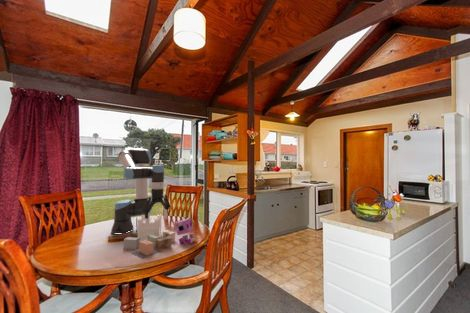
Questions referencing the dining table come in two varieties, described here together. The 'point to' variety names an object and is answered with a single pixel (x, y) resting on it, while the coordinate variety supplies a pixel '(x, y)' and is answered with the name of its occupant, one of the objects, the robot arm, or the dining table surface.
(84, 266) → the dining table surface
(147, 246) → the terracotta brick
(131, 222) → the robot arm
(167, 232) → the maple brick
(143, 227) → the castle model
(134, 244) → the grey brick
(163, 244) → the walnut brick
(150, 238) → the sage brick
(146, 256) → the felt mat
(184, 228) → the toy
